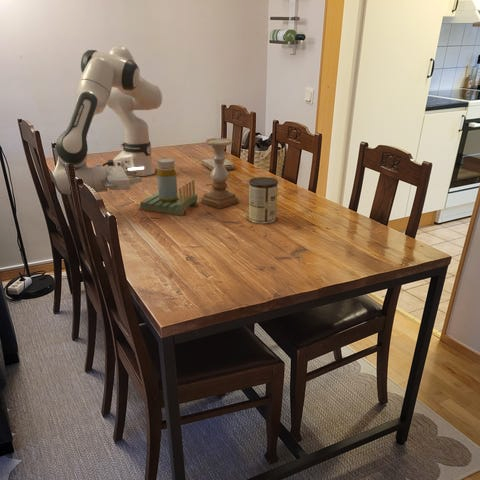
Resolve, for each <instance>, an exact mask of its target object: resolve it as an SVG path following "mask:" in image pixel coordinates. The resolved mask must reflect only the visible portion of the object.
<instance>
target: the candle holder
mask: <svg viewBox="0 0 480 480" xmlns="http://www.w3.org/2000/svg"><path fill="white" fill-rule="evenodd" d="M205 144H206V145H208V146H211V147H212V149H213V152H214V154H213V155H212V159H213V160H214V162H215V166H214V168H213V170H211V171H210V174H209V178H210V180H211V181H212V183H211V188H212V189H211V190H210V191H209V192H207V193H204V194H203V196H202V197H201V198H200V203H201V204H204V205H207V206H210V207H214V208H216V209H224V208H226V207H229V206H233V205H235V204H238V203H239V197H237V196H236V194H235V193H232V192H230V191H229V190H227V188H228V184H227V181H228V180H229V177H230V176H229V172H228V170H226V169H225V167H224V161H225V159H227V157H226V155H225V154H224V153H225V149H226V148H227V146H230V145H232V144H233V140H232V139H230V138H226V137H225V138H224V137H212V138H208V139H206V140H205Z"/></svg>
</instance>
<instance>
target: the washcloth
mask: <svg viewBox="0 0 480 480" xmlns="http://www.w3.org/2000/svg"><path fill="white" fill-rule="evenodd" d="M201 164H202V165H203V166H205V167H207V168H208V169H209V170H211V171H212V170H213V168H214V166H215V162H214V160H213V158H205V159H204V158H203V159H202V160H201ZM224 167H225V169H226V170H227V171H229V170H230V171H231V170H234V169H235V167H234V163H233V162H232V160H229V159H227V158H226V159H225V161H224Z"/></svg>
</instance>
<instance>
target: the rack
mask: <svg viewBox="0 0 480 480" xmlns="http://www.w3.org/2000/svg"><path fill="white" fill-rule="evenodd" d="M189 206H190V207H197V206H198V194H197V193H196V187H195V179H191V180H189V181H188V182H185V184H182V185H181V186H179V187H178V194H177V199H176V201H173V202H163V201H161V200H160V199H159V192H156V193H154V194H153V195H151V196H149V197H148V198H146V199H144V200H142V201H140V204H139V207H140V208H139V209H140V210H141V211H149V212H155V213H161V214H170V215H177V216H184V215H185V209H186V208H188V207H189Z"/></svg>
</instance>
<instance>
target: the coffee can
mask: <svg viewBox="0 0 480 480" xmlns="http://www.w3.org/2000/svg"><path fill="white" fill-rule="evenodd" d="M248 183H249V184H248V221H250V222H252V223H254V224H255V223H256V224H263V225H264V224H271V223H274V222H275V221H277V205H278V204H277V203H278V202H277V201H278V184H279V180H278V179H276V178H273V177H268V176H267V177H266V176H259V177H253V178H250V179H249V180H248Z"/></svg>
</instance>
